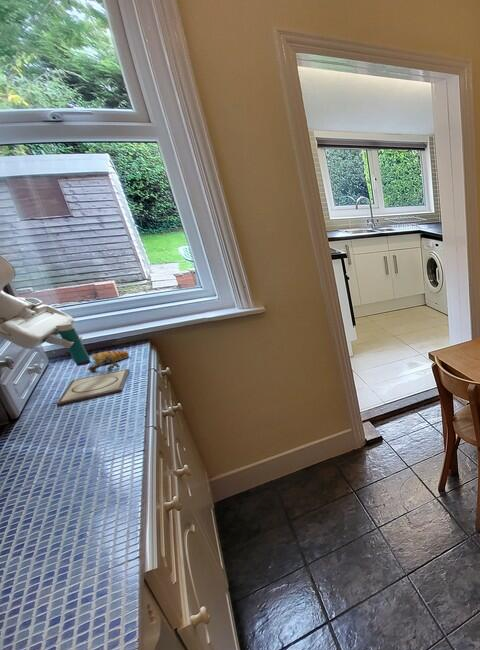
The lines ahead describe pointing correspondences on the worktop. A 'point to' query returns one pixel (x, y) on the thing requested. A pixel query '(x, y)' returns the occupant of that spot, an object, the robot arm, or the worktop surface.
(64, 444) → the worktop surface
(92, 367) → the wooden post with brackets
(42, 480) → the worktop surface
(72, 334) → the dot marker
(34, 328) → the robot arm
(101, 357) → the pastry
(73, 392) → the drawing board
